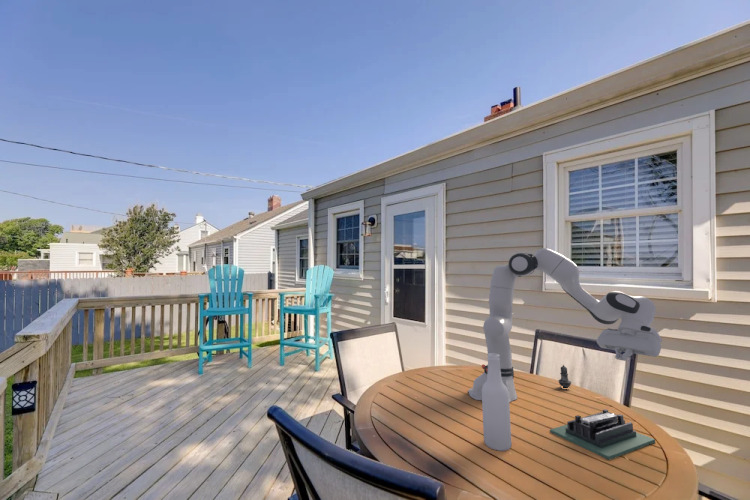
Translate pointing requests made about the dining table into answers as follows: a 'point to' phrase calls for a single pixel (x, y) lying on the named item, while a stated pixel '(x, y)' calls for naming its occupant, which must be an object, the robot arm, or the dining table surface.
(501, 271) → the robot arm
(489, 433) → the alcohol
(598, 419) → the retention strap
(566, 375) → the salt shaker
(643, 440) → the circuit board
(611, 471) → the dining table surface
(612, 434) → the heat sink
